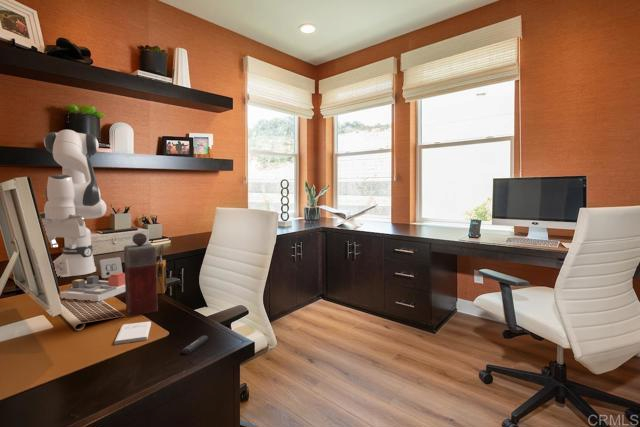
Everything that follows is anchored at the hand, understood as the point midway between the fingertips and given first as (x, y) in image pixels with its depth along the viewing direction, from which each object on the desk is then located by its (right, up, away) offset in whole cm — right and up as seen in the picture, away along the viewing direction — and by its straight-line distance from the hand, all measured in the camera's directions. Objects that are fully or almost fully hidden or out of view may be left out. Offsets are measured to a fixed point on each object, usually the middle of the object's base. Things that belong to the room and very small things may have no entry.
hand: (63, 248), depth 137 cm
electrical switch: (0, -18, +30) cm, 34 cm away
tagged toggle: (+7, -17, 0) cm, 18 cm away
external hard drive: (+49, -23, -36) cm, 65 cm away
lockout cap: (+19, -16, +6) cm, 26 cm away
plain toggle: (+8, -16, +6) cm, 19 cm away
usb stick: (+71, -23, -44) cm, 87 cm away
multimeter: (+35, -19, +4) cm, 40 cm away
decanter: (+41, -21, -16) cm, 48 cm away
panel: (+13, -19, +2) cm, 23 cm away
